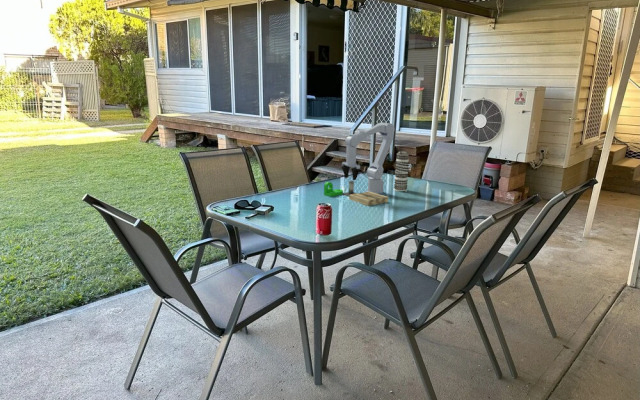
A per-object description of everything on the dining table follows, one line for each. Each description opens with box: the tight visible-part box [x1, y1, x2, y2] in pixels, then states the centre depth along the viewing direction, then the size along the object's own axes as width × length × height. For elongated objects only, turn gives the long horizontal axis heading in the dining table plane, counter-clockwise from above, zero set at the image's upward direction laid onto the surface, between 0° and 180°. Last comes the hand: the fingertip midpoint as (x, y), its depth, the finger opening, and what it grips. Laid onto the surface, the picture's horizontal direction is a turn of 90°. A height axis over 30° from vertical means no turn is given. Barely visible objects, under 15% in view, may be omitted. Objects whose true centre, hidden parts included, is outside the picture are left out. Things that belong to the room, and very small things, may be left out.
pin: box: [348, 180, 355, 195], centre depth 264 cm, size 3×3×8 cm
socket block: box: [348, 191, 389, 206], centre depth 250 cm, size 16×16×3 cm
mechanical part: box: [323, 181, 344, 198], centre depth 262 cm, size 12×6×8 cm, turn 131°
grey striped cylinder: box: [393, 150, 410, 192], centre depth 277 cm, size 9×9×25 cm
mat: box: [342, 191, 357, 198], centre depth 265 cm, size 10×10×1 cm
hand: (350, 178), depth 261 cm, fingers open, 7 cm apart
